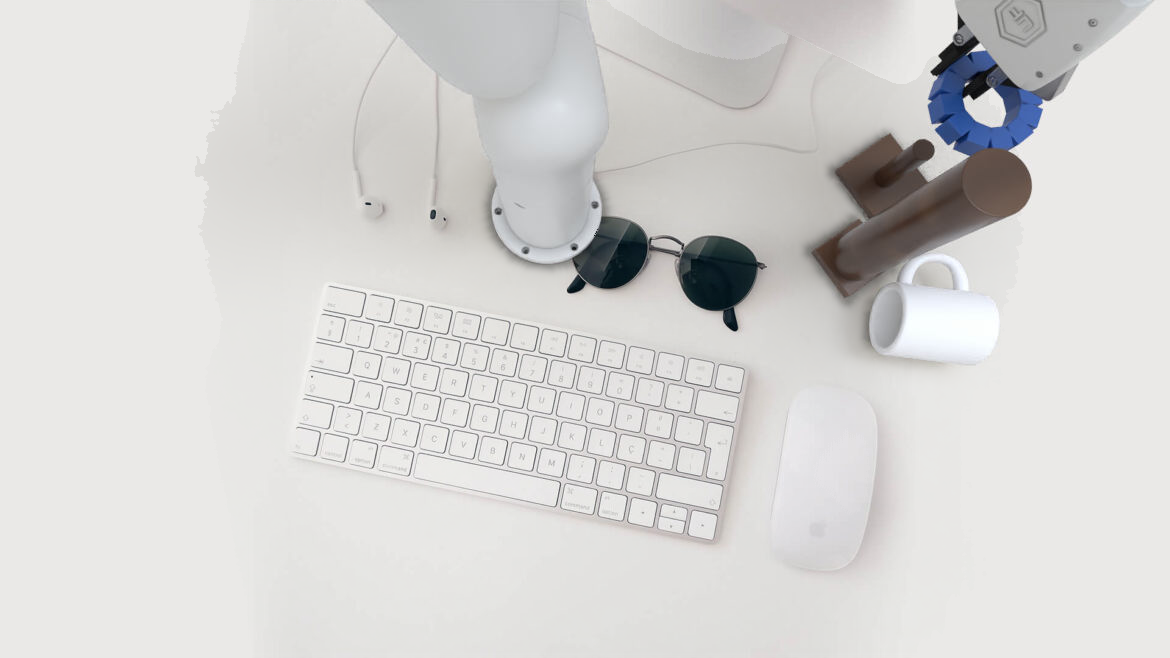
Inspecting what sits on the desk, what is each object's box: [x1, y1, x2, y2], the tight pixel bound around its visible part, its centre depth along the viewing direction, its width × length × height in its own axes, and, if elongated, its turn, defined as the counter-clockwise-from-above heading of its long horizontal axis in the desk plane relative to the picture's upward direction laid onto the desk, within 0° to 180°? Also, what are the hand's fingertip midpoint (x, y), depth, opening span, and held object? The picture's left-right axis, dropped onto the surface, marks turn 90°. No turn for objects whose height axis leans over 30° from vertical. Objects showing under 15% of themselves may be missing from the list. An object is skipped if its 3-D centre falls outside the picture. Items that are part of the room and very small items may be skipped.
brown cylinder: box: [811, 148, 1033, 299], centre depth 61 cm, size 7×7×25 cm
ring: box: [927, 49, 1044, 157], centre depth 56 cm, size 9×9×2 cm
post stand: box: [834, 133, 936, 219], centre depth 70 cm, size 8×8×9 cm
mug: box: [868, 252, 1000, 367], centre depth 69 cm, size 12×10×8 cm
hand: (955, 79), depth 58 cm, fingers closed on ring, 2 cm apart
